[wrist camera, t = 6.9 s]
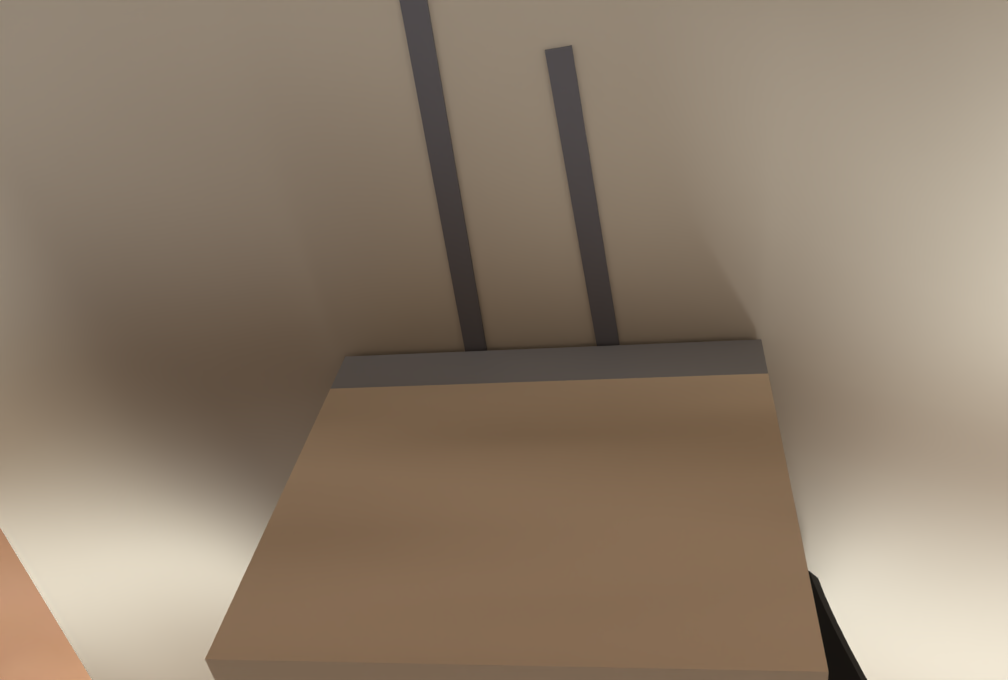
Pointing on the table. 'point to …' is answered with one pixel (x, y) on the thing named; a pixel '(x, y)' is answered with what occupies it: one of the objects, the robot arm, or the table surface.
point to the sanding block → (534, 525)
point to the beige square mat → (498, 270)
